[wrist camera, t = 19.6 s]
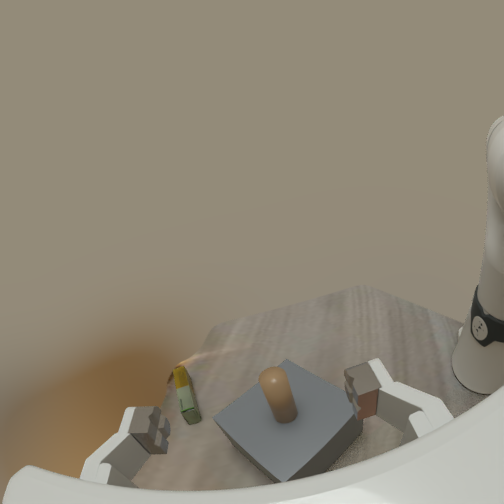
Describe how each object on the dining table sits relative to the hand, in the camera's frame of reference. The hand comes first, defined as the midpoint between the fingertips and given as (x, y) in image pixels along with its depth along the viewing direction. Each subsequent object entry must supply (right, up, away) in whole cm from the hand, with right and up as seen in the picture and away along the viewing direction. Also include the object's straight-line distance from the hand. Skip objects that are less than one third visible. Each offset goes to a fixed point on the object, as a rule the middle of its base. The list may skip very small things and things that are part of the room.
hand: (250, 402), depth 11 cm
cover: (+7, -22, +24) cm, 33 cm away
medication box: (-11, -22, +37) cm, 44 cm away
